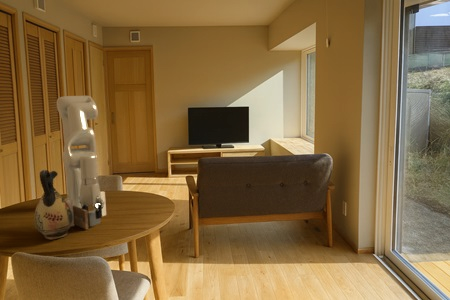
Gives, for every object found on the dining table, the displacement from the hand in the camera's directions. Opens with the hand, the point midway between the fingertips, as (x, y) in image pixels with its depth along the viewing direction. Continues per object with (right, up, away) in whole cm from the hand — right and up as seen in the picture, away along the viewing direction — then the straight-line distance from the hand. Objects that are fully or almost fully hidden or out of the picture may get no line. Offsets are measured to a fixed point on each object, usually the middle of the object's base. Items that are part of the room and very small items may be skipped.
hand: (92, 216), depth 204 cm
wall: (-5, -3, +5) cm, 8 cm away
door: (-5, -4, -4) cm, 8 cm away
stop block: (0, -4, 0) cm, 4 cm away
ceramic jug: (-12, -7, -16) cm, 21 cm away
